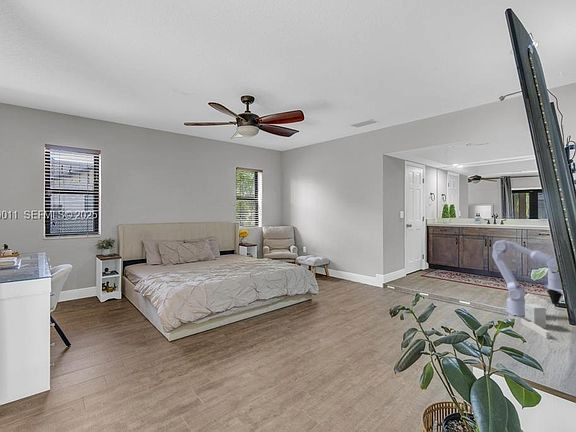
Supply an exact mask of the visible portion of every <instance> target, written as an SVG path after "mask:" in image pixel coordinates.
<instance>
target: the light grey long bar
mask: <svg viewBox="0 0 576 432" xmlns="http://www.w3.org/2000/svg"><path fill="white" fill-rule="evenodd" d="M519 318H520V323H521V324H522V325H524V326H525V327H527V328H528V329H530V330H532V331H533V332H536V333H537V335H540V336H542V337H543V338H545V339H551V332H550V331H549V330H547V329H546V328H541V327H540V326H538V325H536V324H534V323H533V322H531V321H530V320H529V319H527V318H525V316H519Z"/></svg>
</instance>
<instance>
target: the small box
mask: <svg viewBox="0 0 576 432" xmlns="http://www.w3.org/2000/svg"><path fill="white" fill-rule="evenodd" d="M524 317H525V318H527V319H529V320H530V321H531V322H533V323H534V324H536V325H538V326H540V327H541V328H543V329H547V313H546V307H543V306H542V305H539V304H537V303H525V316H524Z"/></svg>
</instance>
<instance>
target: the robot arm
mask: <svg viewBox="0 0 576 432" xmlns="http://www.w3.org/2000/svg"><path fill="white" fill-rule="evenodd" d="M507 251H516V252H518V253H521V254H524V255H526V256H529V257H530V258H531V260H533V261H535V262H538V263H540V264H543V265H546V266H547V284H546V283H544V284H543V288H544V289H548V290H546V292H547V295H549V297H550V301H551V303H552V305H556V306H557V305H559V303H560V300H561V298H562V296H563V295H564V294H563V290H562V287H563V284H562V285H561V281H560V277H559V274H558V272H557V263H556V258H555V257H556V256H554V255H552V254H548V253H545V252H544V251H543V250H537V249H536V250H532V249H530V248H528V247H525V246H522V245H520V244H518V243H515V242H513V241H509V240H508V239H501V240H497V241H495V242H494V244H492V255H491V256H492V259H493V261H494V262H495V265H496V266H497V268H498V270H499V272H500V274H501V276H502V277H503V279H504V281H505V283H506V288H507V290H508V296H509V297H507V299H506V309H505V312H507V313H509V314H511V315H512V316H514V315H516V316H515V317H520V316H523V317H525V304H526V299H525V297H524V296H525V295H526V290H525V288H524V287H522V286H521V284H520V283H519V282H518V281H517V280H516V278H515V276H514V274H513V272H512V270H511V269H510V266H509V265H508V263H507V261H506V259H505V258H504V255H505V254H506V252H507Z"/></svg>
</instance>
